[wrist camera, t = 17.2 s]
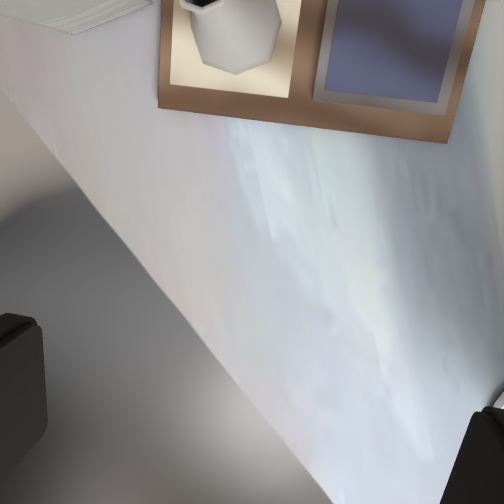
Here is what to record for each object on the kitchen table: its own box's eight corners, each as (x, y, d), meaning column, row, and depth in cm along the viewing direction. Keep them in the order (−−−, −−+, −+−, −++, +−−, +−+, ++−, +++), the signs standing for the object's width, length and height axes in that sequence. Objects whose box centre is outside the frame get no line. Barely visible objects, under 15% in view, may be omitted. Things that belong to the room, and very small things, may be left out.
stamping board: (443, 143, 32) (451, 144, 30) (162, 108, 35) (152, 107, 33) (497, -62, 27) (511, -77, 25) (170, -84, 30) (159, -99, 28)
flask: (193, 76, 32) (143, 55, 23) (189, -26, 30) (131, -96, 21) (281, 74, 31) (265, 51, 22) (283, -32, 29) (267, -108, 20)
